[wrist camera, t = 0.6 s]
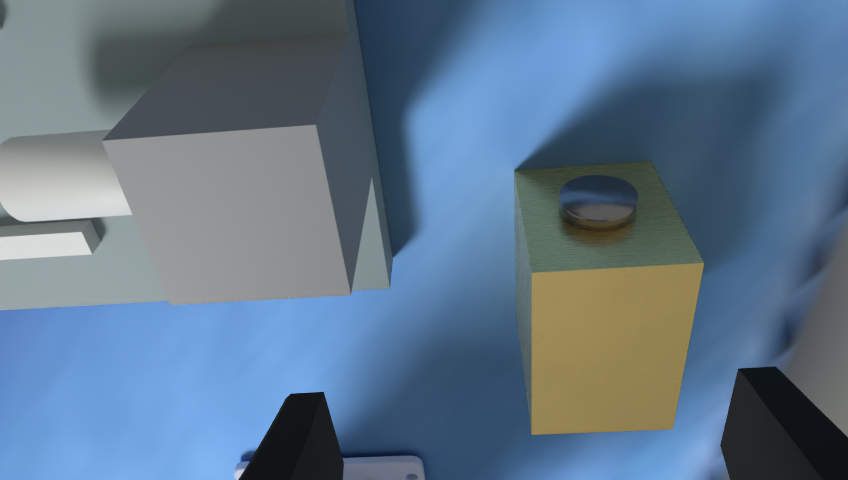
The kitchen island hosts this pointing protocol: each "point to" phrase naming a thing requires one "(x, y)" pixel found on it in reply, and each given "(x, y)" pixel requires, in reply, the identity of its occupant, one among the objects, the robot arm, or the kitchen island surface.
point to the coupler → (602, 297)
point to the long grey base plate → (186, 153)
